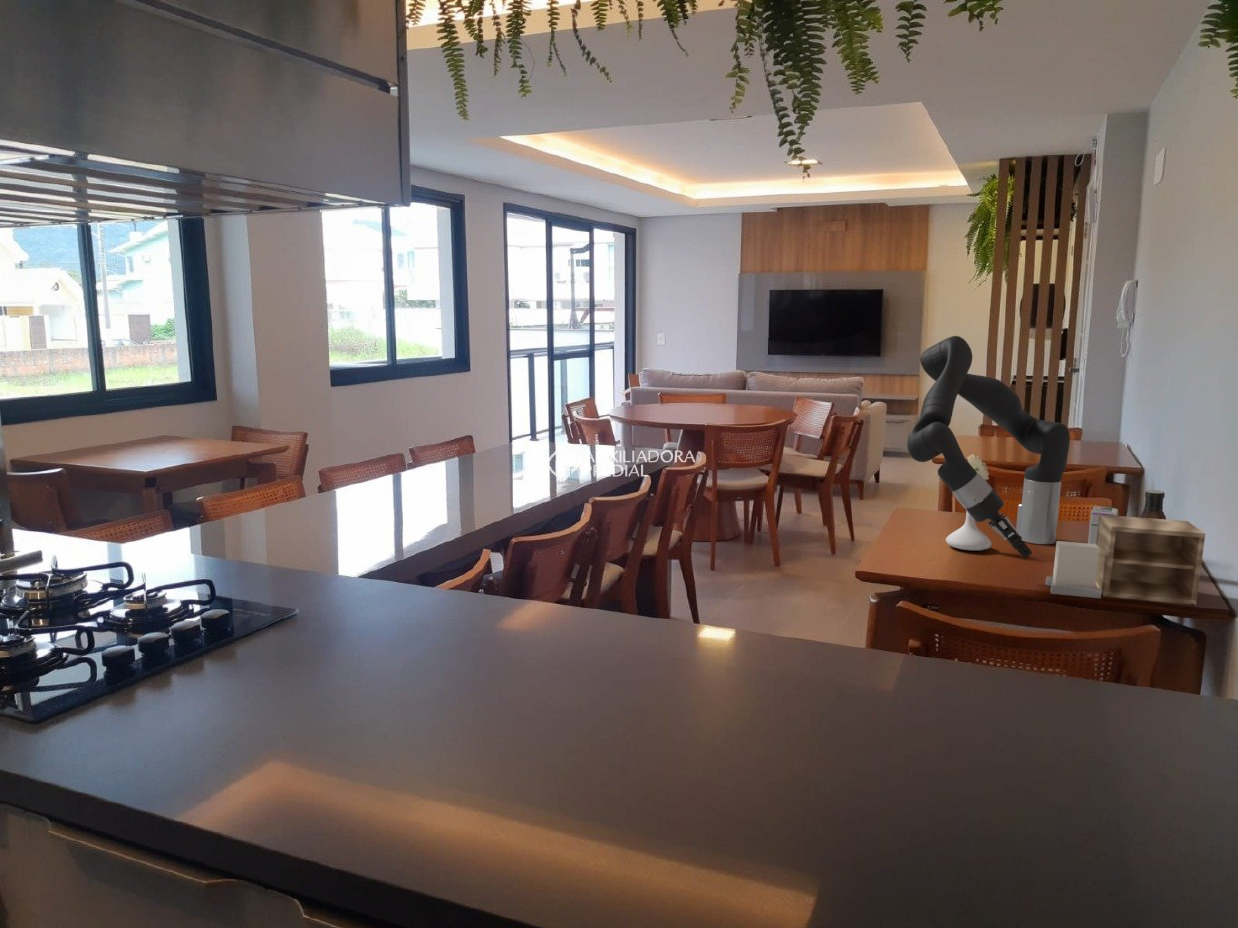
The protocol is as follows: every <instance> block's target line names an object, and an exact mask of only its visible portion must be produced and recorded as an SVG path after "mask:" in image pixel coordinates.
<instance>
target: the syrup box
mask: <svg viewBox="0 0 1238 928" xmlns="http://www.w3.org/2000/svg"><path fill="white" fill-rule="evenodd" d="M1099 515H1111V516H1119V509H1118V508H1116V507H1115V508H1114V507H1109V506H1098V505H1097V506H1094V505H1093V506H1092V508H1091V509H1090V520H1089V527H1088V539H1087V540H1088V541H1087V543H1088V544H1096V540H1097V532H1098V523H1099Z"/></svg>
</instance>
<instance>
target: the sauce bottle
mask: <svg viewBox="0 0 1238 928" xmlns="http://www.w3.org/2000/svg"><path fill="white" fill-rule="evenodd" d="M1144 497H1145V500H1144V501H1145V502H1144V506H1143V507H1144V509H1143V510H1142V512H1141V514H1140V516H1139V518H1152V519H1165V520H1167V516H1166V515H1165V513H1164V507H1163V505H1164V499H1165V492H1164V491H1162V490H1157V489H1156V490H1155V489H1147V490H1145V493H1144Z"/></svg>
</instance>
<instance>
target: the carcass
mask: <svg viewBox="0 0 1238 928" xmlns="http://www.w3.org/2000/svg"><path fill="white" fill-rule="evenodd" d="M1205 539H1206V533H1205V532H1204V531H1202V530H1201V529H1200V528H1199V527H1197V526H1195V524H1193V523H1191V522H1190V521H1188V520H1177V519H1166V520H1165V519H1152V518H1140V517H1136V516H1125V515H1124V516H1123V515H1122V516H1121V515H1118V516H1111V515H1099V523H1098V532H1097V540H1096V545H1097V546H1098V547H1099V556H1098V564H1097V573H1096V582H1095V588H1099V589H1101V590H1102V591H1101V596H1103V597H1107V598H1108V597H1110V598H1118V599H1130V600H1139V601H1148V600H1149V601H1150V602H1160V603H1172V604H1179V605H1190V604H1194V605H1193V606H1196V605H1197V598H1198V592H1199V585H1200V577H1201V570H1202V564H1203V563H1202V562H1203V561H1202V560H1203V555H1204V547H1205Z"/></svg>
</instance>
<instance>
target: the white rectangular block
mask: <svg viewBox="0 0 1238 928" xmlns="http://www.w3.org/2000/svg"><path fill="white" fill-rule="evenodd" d="M1055 544H1056V545H1055V553H1054V554H1055V556H1054V563H1053V564H1054V565H1053V573H1052V577H1053V581H1052V584H1057V585H1067V586H1078V587H1088V588H1096V586H1095V582H1096V573H1097V564H1098V556H1099V547H1098V546H1097V545H1096V544H1088V542H1086V543H1085V542H1075V541H1074V542H1073V541H1064V540H1063V541H1061V540H1056V542H1055Z"/></svg>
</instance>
